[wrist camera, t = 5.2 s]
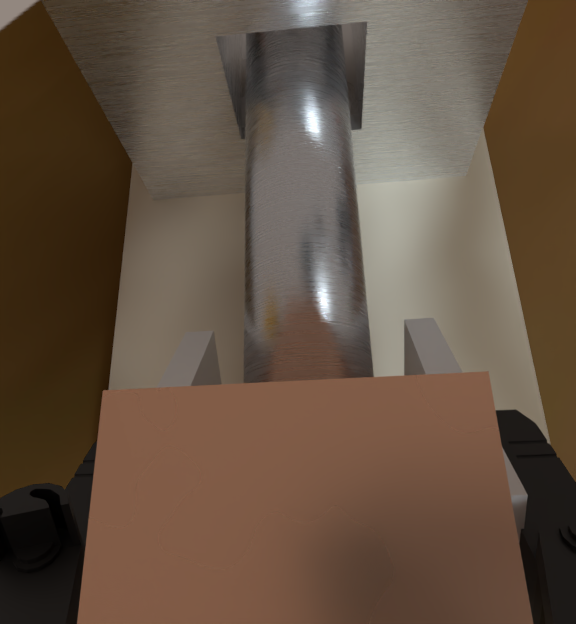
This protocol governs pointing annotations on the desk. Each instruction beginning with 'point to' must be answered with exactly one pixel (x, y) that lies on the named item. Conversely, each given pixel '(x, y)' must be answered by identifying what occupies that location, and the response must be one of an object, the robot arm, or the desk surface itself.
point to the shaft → (303, 423)
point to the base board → (377, 269)
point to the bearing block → (232, 80)
